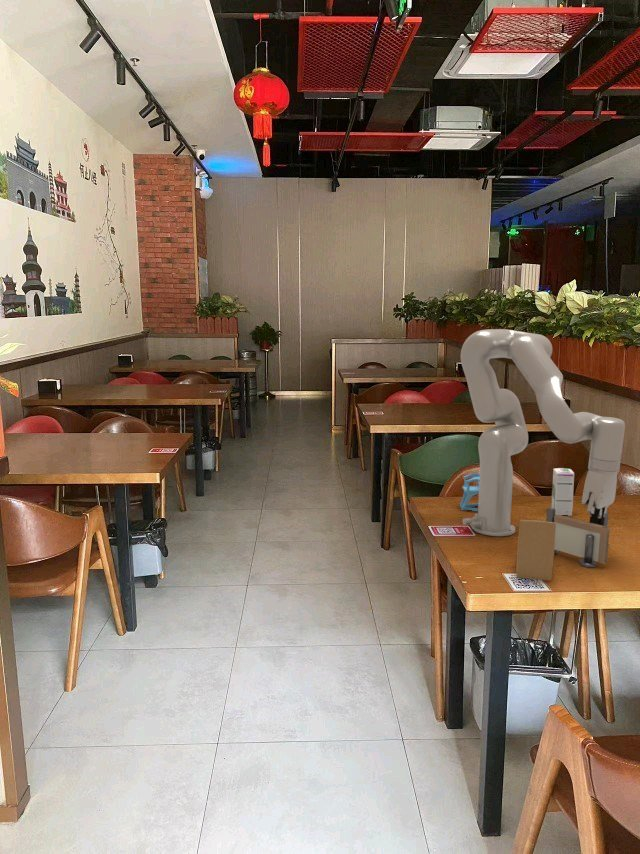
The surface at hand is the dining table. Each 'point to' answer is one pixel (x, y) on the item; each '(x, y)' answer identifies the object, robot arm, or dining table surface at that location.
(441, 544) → the dining table surface
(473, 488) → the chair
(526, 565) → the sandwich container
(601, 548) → the panel
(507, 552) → the dining table surface
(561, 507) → the syrup box
